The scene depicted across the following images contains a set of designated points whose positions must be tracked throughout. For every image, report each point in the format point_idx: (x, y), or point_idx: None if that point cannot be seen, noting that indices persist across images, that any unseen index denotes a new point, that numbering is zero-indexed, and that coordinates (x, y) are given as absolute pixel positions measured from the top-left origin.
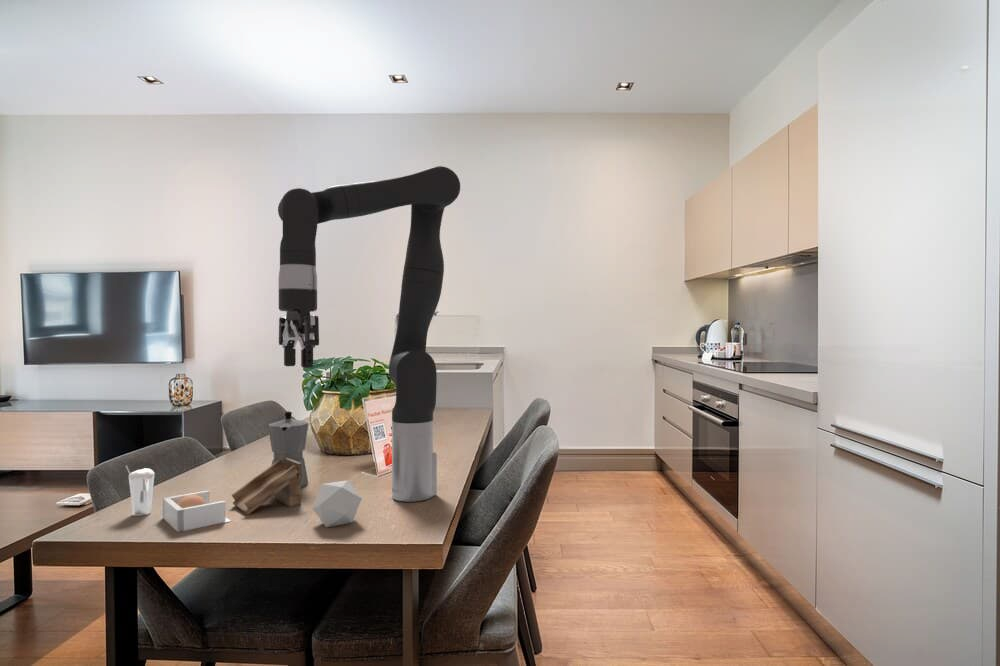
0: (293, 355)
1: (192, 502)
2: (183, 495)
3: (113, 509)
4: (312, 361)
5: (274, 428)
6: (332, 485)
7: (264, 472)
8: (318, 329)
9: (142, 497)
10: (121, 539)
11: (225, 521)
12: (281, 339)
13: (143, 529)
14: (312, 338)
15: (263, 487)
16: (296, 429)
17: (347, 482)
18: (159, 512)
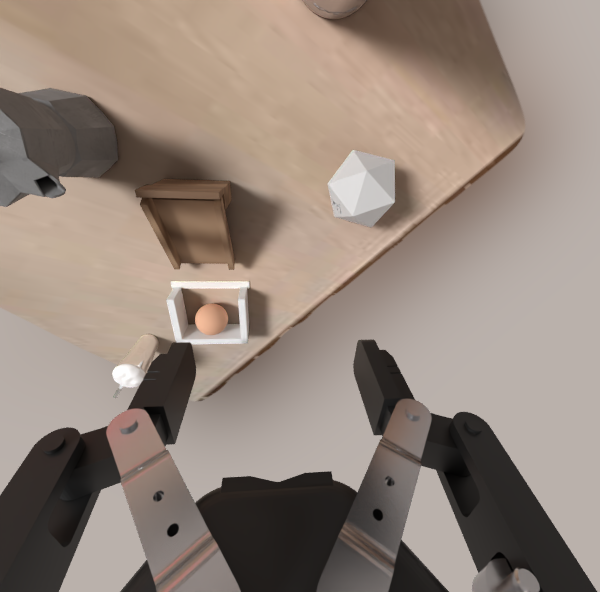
0: (177, 382)
1: (222, 326)
2: (177, 326)
3: (109, 357)
4: (393, 360)
5: (16, 199)
6: (374, 208)
7: (161, 231)
8: (546, 517)
9: (152, 356)
10: (236, 363)
11: (247, 286)
12: (91, 504)
13: (215, 347)
14: (421, 456)
15: (194, 236)
16: (31, 142)
17: (373, 175)
18: (153, 327)
